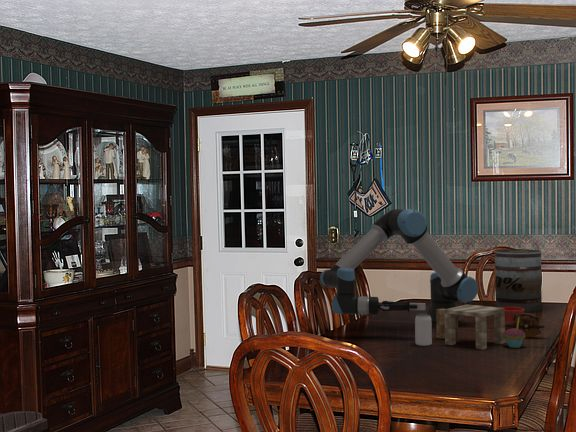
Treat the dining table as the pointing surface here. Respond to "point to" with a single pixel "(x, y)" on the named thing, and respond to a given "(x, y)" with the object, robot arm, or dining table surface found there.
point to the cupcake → (514, 336)
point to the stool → (480, 318)
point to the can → (423, 330)
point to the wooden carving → (526, 324)
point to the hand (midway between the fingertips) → (425, 306)
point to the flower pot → (511, 313)
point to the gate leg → (441, 324)
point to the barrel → (518, 279)
